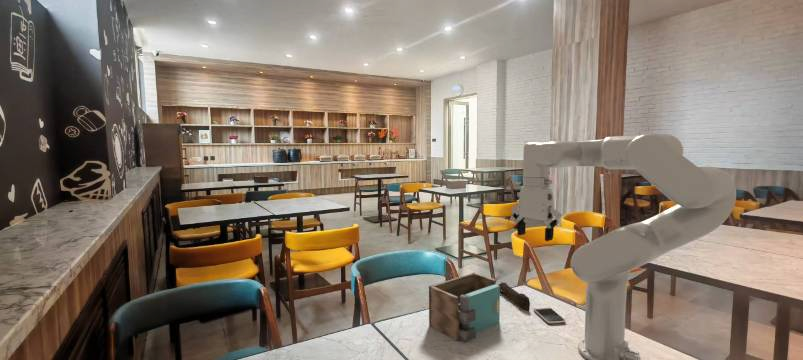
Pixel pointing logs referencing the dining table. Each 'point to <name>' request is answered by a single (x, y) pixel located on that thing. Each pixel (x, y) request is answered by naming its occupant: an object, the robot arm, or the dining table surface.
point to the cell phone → (549, 316)
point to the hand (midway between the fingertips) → (534, 237)
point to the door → (482, 307)
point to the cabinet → (454, 305)
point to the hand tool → (515, 296)
